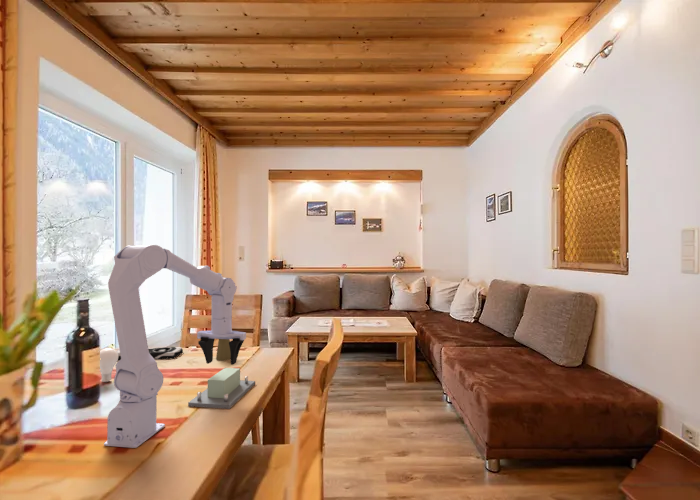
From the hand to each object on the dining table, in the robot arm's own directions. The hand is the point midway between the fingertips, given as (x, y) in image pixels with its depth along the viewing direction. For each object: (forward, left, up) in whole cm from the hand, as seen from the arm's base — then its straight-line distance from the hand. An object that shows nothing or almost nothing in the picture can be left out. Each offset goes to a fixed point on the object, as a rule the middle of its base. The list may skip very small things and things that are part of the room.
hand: (221, 363), depth 99 cm
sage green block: (+1, -1, -8) cm, 8 cm away
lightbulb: (+4, +42, -10) cm, 43 cm away
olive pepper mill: (+32, +16, -10) cm, 37 cm away
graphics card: (+30, +48, -10) cm, 58 cm away
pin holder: (0, -1, -9) cm, 9 cm away
